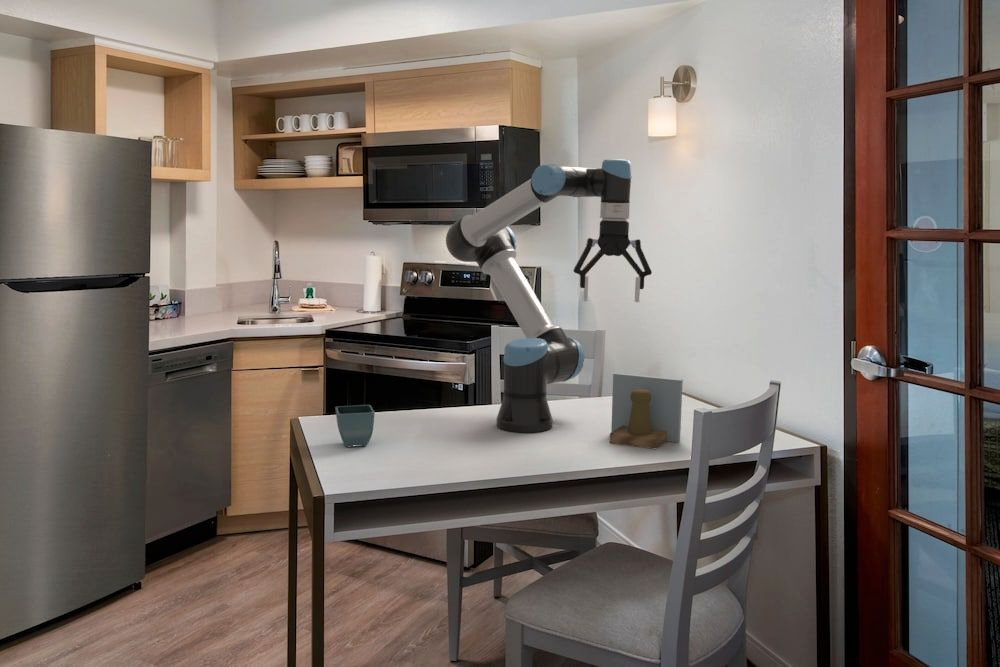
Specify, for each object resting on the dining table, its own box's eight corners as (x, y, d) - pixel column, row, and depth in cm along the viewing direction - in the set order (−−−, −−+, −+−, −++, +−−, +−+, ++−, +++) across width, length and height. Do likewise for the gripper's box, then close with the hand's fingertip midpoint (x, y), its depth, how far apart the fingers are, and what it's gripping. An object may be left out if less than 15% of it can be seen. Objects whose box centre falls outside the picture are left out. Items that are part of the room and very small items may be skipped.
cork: (634, 428, 219) (635, 386, 218) (655, 431, 216) (657, 389, 214) (623, 432, 214) (624, 390, 213) (645, 436, 211) (646, 393, 210)
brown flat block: (609, 442, 215) (610, 432, 214) (622, 435, 222) (622, 425, 222) (655, 449, 209) (656, 439, 209) (666, 441, 217) (667, 431, 216)
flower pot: (338, 450, 204) (338, 413, 203) (335, 441, 212) (335, 406, 211) (375, 448, 206) (374, 412, 205) (370, 439, 215) (370, 404, 214)
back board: (611, 433, 224) (613, 373, 222) (613, 432, 225) (615, 372, 223) (678, 442, 215) (680, 380, 213) (680, 441, 217) (682, 379, 215)
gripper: (567, 219, 217) (565, 301, 220) (665, 221, 218) (661, 303, 221) (565, 218, 225) (562, 298, 228) (659, 221, 225) (655, 300, 228)
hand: (611, 301), depth 224 cm, fingers open, 13 cm apart
